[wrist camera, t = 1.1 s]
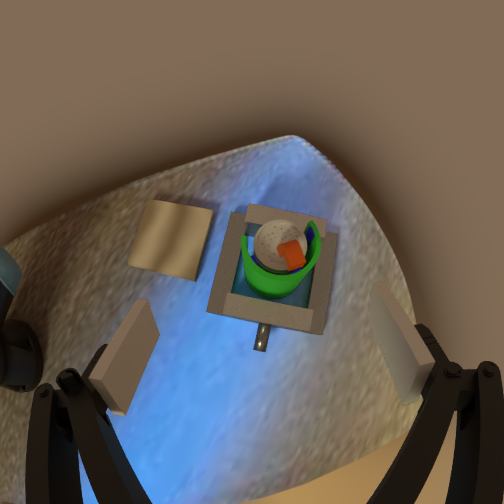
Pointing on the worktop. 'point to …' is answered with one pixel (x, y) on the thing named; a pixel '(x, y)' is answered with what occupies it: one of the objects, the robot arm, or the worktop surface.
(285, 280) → the green-shelled ribbed roller
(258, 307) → the vise
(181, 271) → the board
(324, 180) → the worktop surface
